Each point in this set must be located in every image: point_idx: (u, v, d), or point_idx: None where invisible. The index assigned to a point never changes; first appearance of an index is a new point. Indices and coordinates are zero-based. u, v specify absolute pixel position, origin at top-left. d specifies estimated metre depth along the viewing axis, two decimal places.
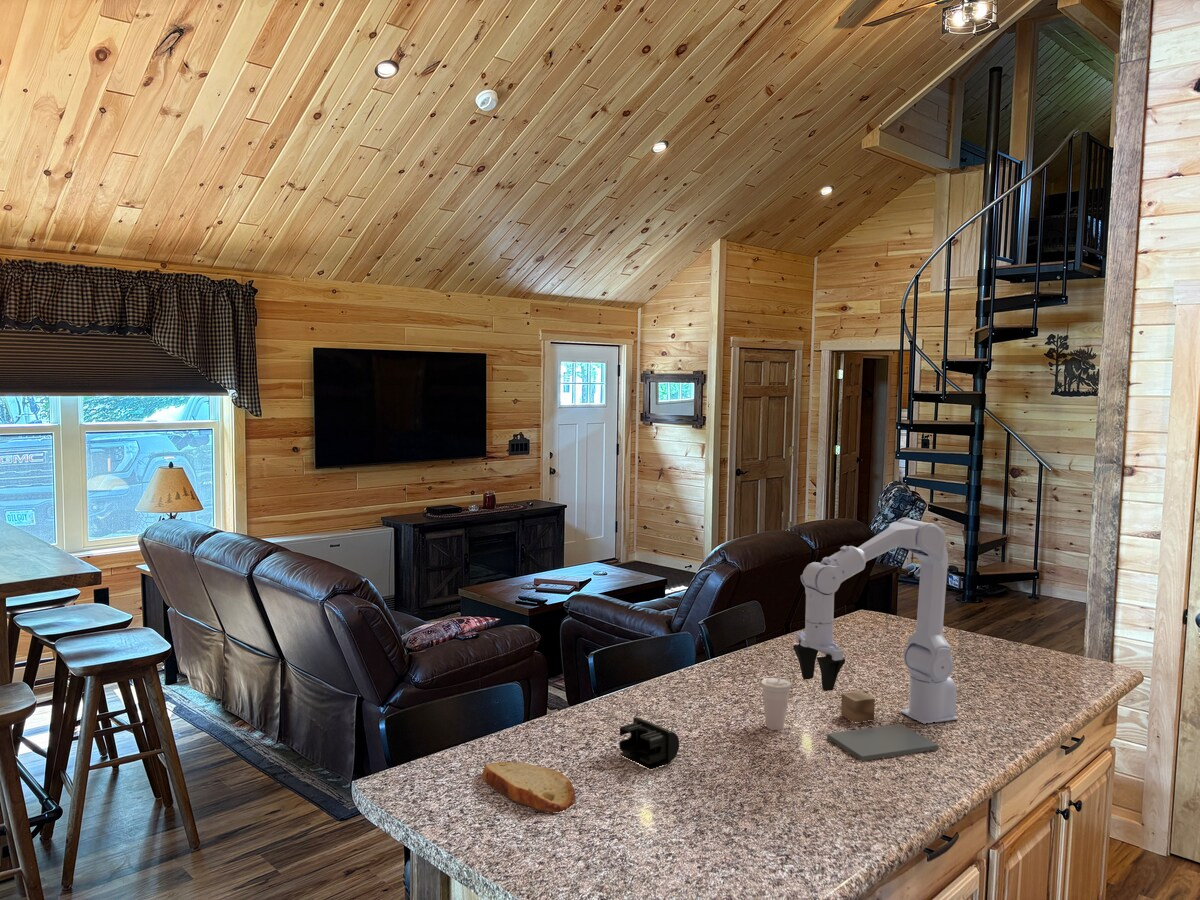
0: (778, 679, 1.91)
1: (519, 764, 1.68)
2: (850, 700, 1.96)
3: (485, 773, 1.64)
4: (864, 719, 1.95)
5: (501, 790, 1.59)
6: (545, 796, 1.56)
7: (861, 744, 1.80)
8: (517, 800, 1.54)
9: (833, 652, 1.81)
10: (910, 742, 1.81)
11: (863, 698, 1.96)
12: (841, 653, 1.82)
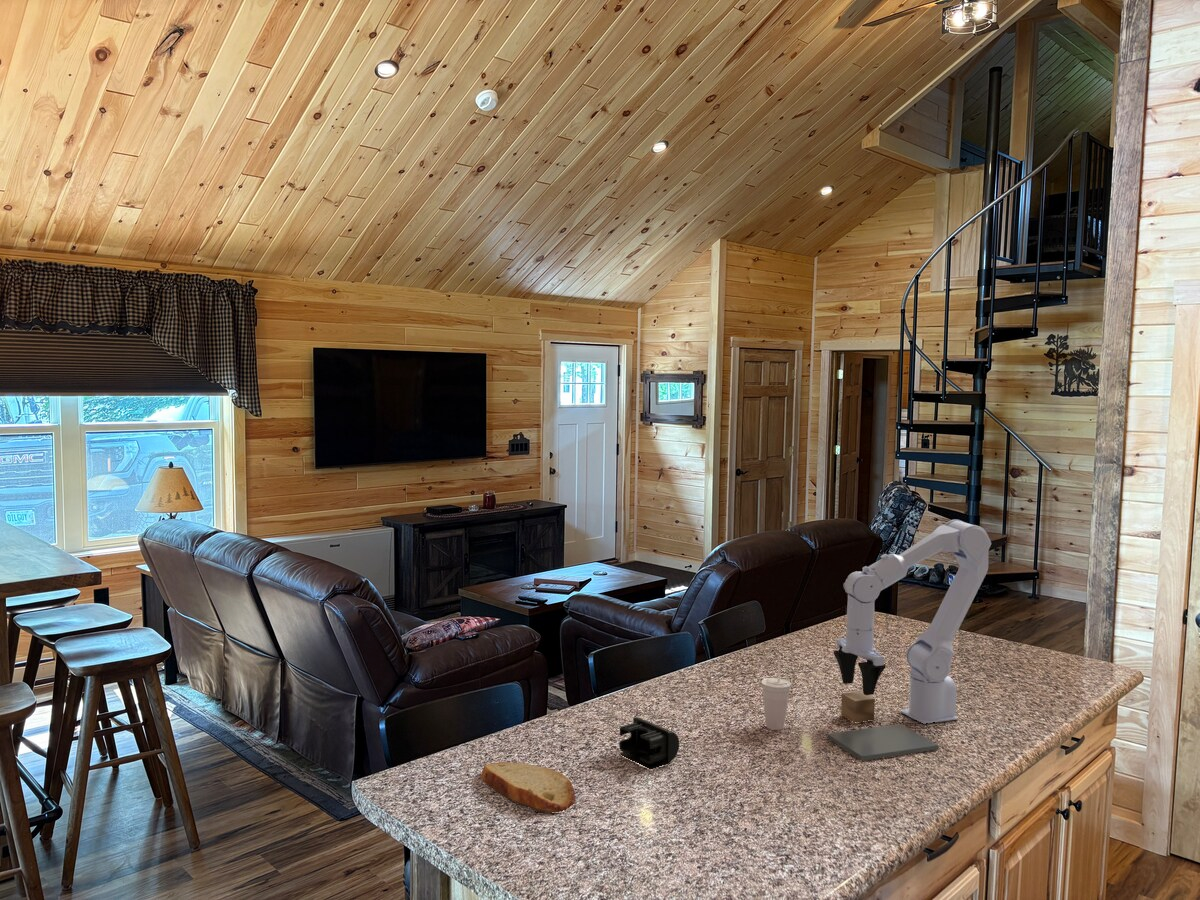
0: (778, 679, 1.91)
1: (518, 764, 1.68)
2: (850, 700, 1.96)
3: (484, 773, 1.64)
4: (864, 719, 1.95)
5: (500, 790, 1.59)
6: (545, 796, 1.56)
7: (861, 744, 1.80)
8: (517, 800, 1.54)
9: (874, 658, 1.90)
10: (910, 742, 1.81)
11: (863, 698, 1.96)
12: (882, 659, 1.90)
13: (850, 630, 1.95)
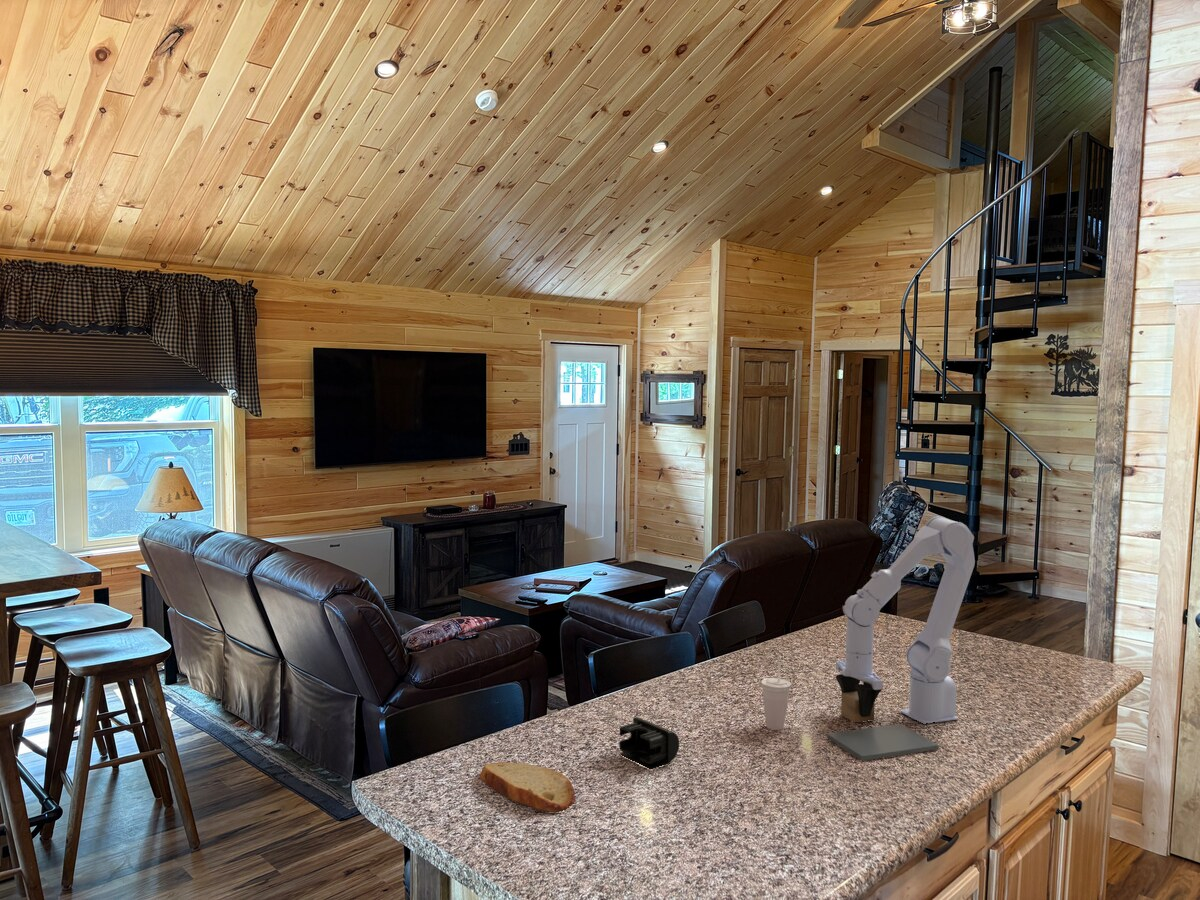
0: (778, 679, 1.91)
1: (517, 764, 1.67)
2: (850, 700, 1.96)
3: (484, 773, 1.64)
4: (864, 719, 1.95)
5: (500, 790, 1.58)
6: (545, 796, 1.56)
7: (861, 744, 1.80)
8: (517, 800, 1.54)
9: (874, 682, 1.90)
10: (910, 742, 1.81)
11: None
12: (881, 683, 1.90)
13: (849, 653, 1.95)
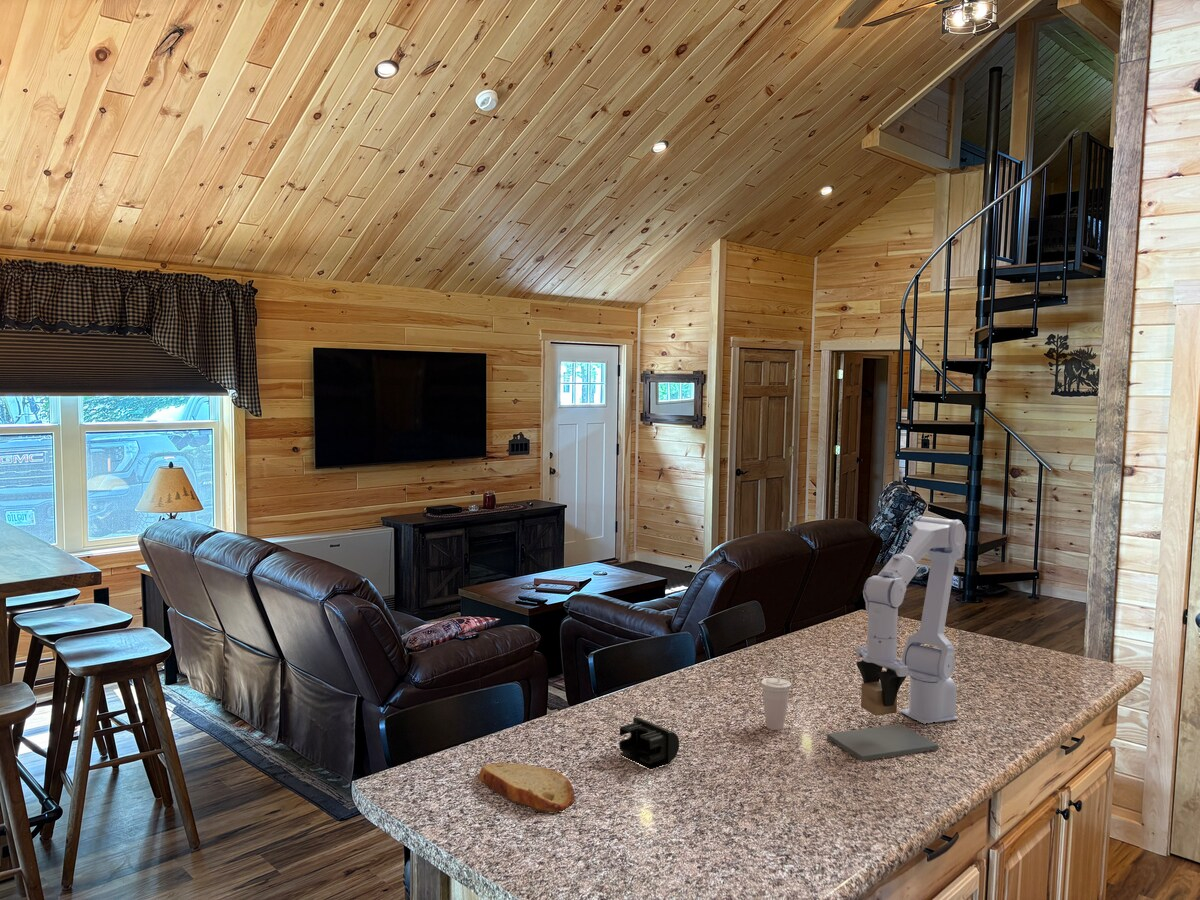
0: (778, 679, 1.91)
1: (515, 765, 1.67)
2: (871, 690, 1.82)
3: (482, 774, 1.64)
4: (886, 711, 1.82)
5: (500, 791, 1.58)
6: (545, 796, 1.56)
7: (861, 744, 1.80)
8: (517, 801, 1.54)
9: (898, 668, 1.76)
10: (910, 742, 1.81)
11: None
12: (906, 669, 1.77)
13: (871, 638, 1.82)
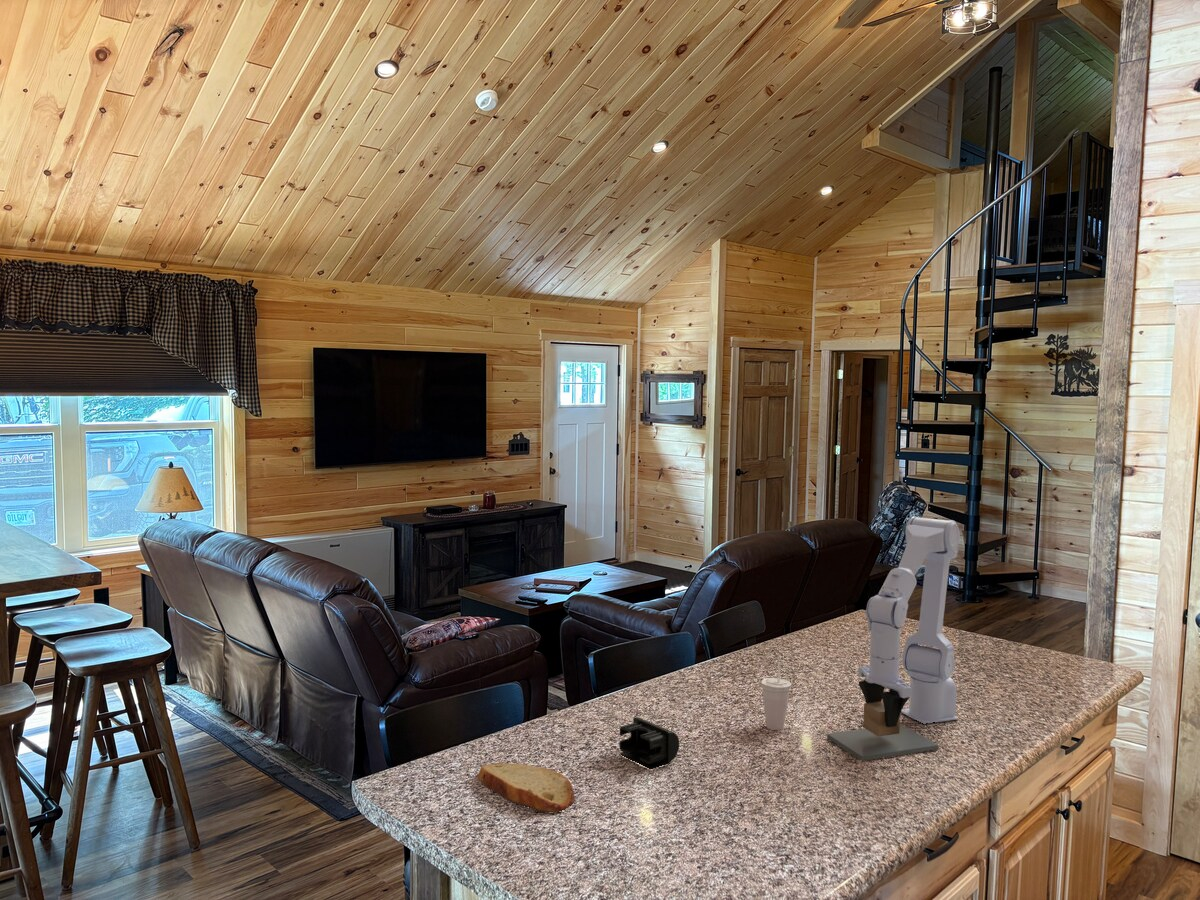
0: (778, 679, 1.91)
1: (515, 765, 1.67)
2: (873, 711, 1.81)
3: (482, 774, 1.64)
4: (889, 731, 1.80)
5: (499, 791, 1.58)
6: (544, 796, 1.56)
7: (861, 744, 1.80)
8: (517, 801, 1.54)
9: (901, 689, 1.75)
10: (910, 742, 1.81)
11: None
12: (909, 690, 1.75)
13: (874, 658, 1.80)
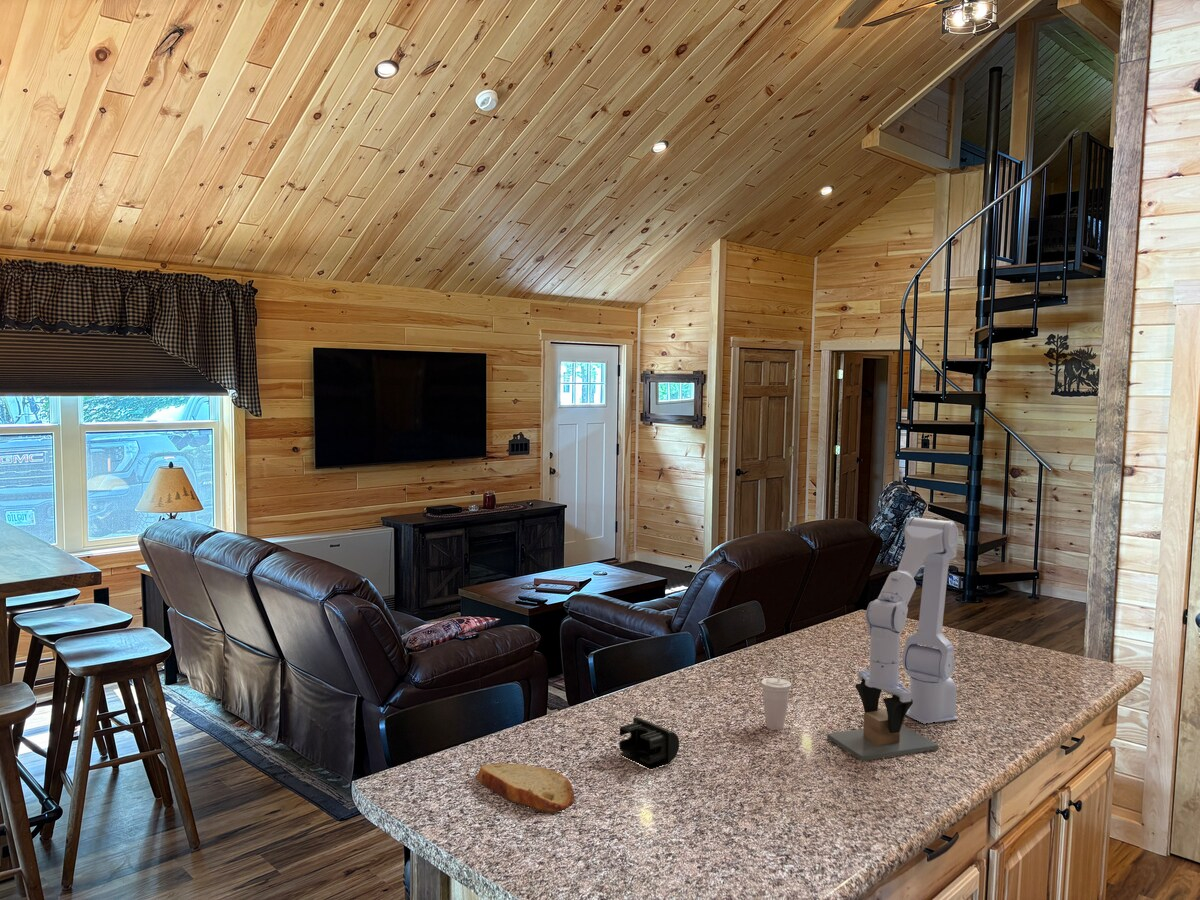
0: (778, 679, 1.91)
1: (514, 765, 1.67)
2: (873, 720, 1.81)
3: (481, 775, 1.64)
4: (889, 740, 1.80)
5: (499, 791, 1.58)
6: (544, 796, 1.56)
7: (861, 744, 1.80)
8: (517, 801, 1.54)
9: (901, 694, 1.75)
10: (910, 742, 1.81)
11: (887, 717, 1.81)
12: (909, 695, 1.76)
13: (874, 663, 1.80)
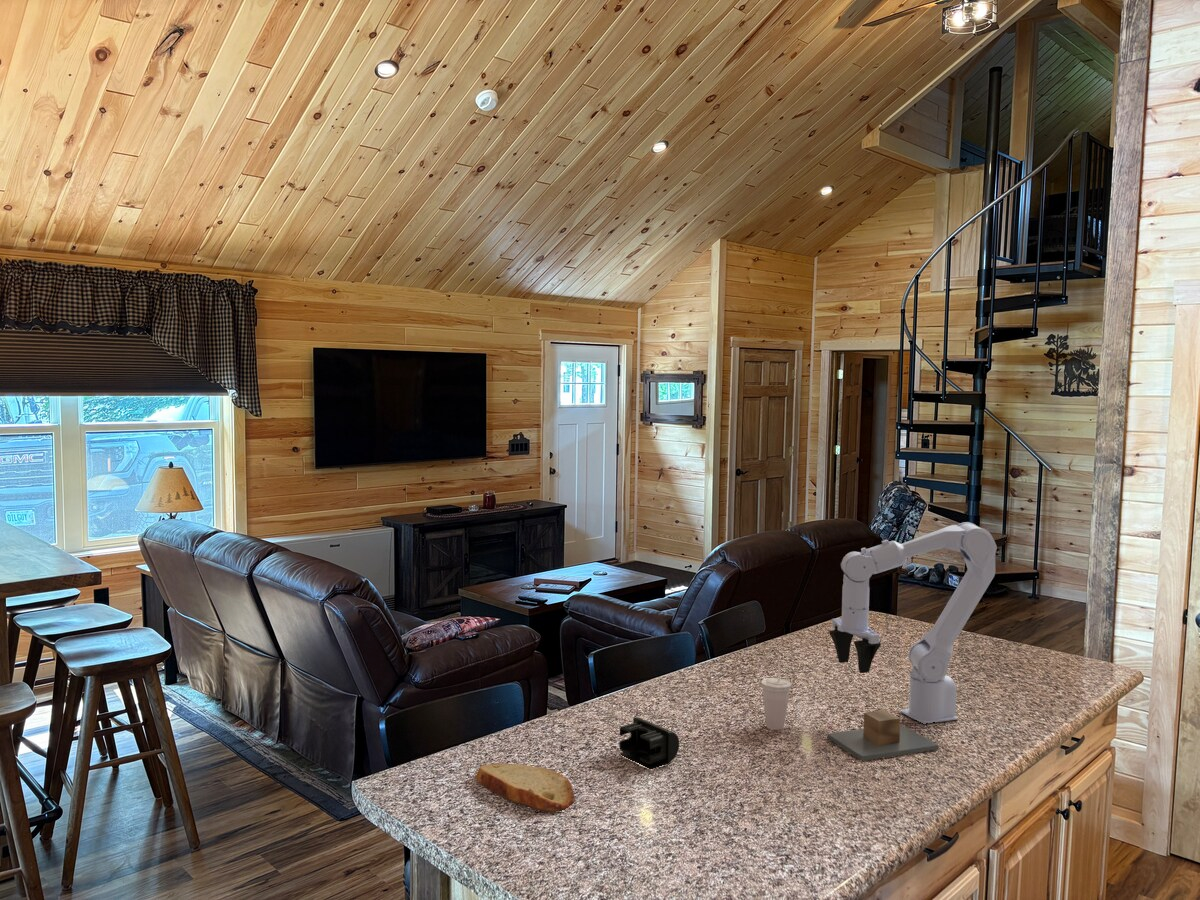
0: (778, 679, 1.91)
1: (512, 765, 1.67)
2: (873, 720, 1.81)
3: (480, 775, 1.63)
4: (889, 740, 1.80)
5: (499, 791, 1.58)
6: (545, 796, 1.56)
7: (861, 744, 1.80)
8: (517, 801, 1.54)
9: (870, 636, 1.92)
10: (910, 742, 1.81)
11: (887, 717, 1.81)
12: (877, 637, 1.93)
13: (845, 609, 1.97)
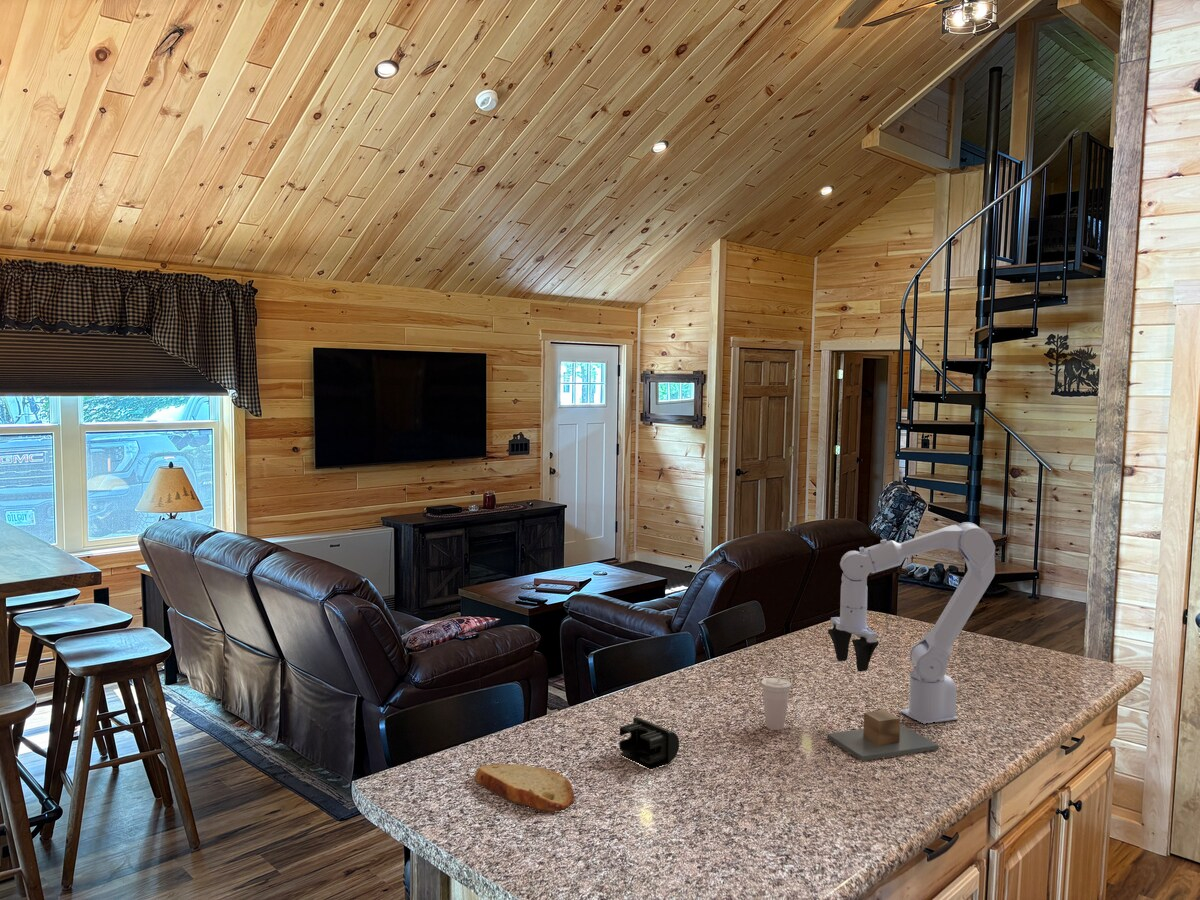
0: (778, 679, 1.91)
1: (511, 766, 1.67)
2: (873, 720, 1.81)
3: (479, 776, 1.63)
4: (889, 740, 1.80)
5: (498, 792, 1.58)
6: (545, 796, 1.56)
7: (861, 744, 1.80)
8: (517, 801, 1.54)
9: (868, 635, 1.93)
10: (910, 742, 1.81)
11: (887, 717, 1.81)
12: (875, 635, 1.94)
13: (844, 608, 1.99)
